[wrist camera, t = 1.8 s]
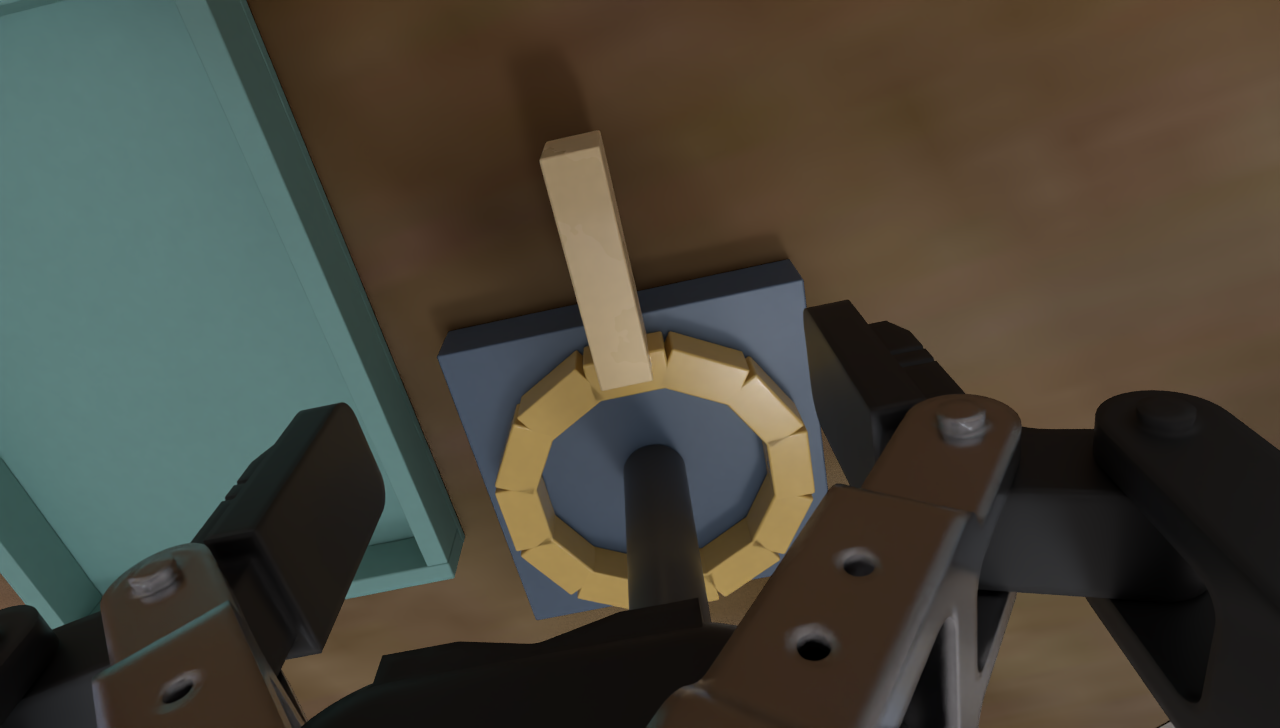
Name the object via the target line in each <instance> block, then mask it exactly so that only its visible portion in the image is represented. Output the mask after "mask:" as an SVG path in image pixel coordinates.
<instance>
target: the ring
mask: <svg viewBox="0 0 1280 728" xmlns="http://www.w3.org/2000/svg"><path fill="white" fill-rule="evenodd" d="M539 162H540V166H541V170H542V173H543V177H544V181H545V184H546V188H547V192H548V196H549V199H550V203H551V207H552V210H553V214H554V218H555V222H556V225H557V229H558V233H559V236H560V240H561V244H562V247H563V251H564V255H565V259H566V262H567V266H568V270H569V273H570V277H571V281H572V285H573V288H574V292H575V296H576V299H577V303H578V307H579V311H580V314H581V318H582V322H583V325H584V329H585V333H586V337H587V340H588V344H589V346H587V347H584V351H583V355H581V354H580V353H579V352H578V351H577V350H576V351H575V352H573V353H572V354H571V355H570V356H569V357H568V358H566V359H565V360H564V361H563V362H562V363H561V364H559V365H558V366H557V367H556V368H555V369H554V370H552V371H551V372H550V373H549V374H548V375H546V376H545V377H544V378H543V379H542V380H541V381H539V382H538V383H537V384H536V385H535V386H534V387H532V388H531V389H530V390H529V391H528V392H527V393H525V394H524V395H523V396H522V397H521V401H520V404H517V405H516V408H515V412H514V415H513V418H512V422H511V425H510V429H509V432H508V436H507V439H506V443H505V446H504V449H503V453H502V456H501V460H500V463H499V468H498V472H497V477H496V482H495V487H496V491H495V495H496V498H497V501H498V503H499V506H500V509H501V511H502V514H503V517H504V519H505V522H506V525H507V527H508V530H509V533H510V536H511V538H512V541H513V544H514V546H515V549H516V551H521V557H522V558H523V559H525V560H526V561H527V562H529V563H530V564H531V565H533V566H534V567H535V568H536V569H538V570H539V571H540V572H542V573H543V574H544V575H546V576H547V577H548V578H550V579H551V580H552V581H553V582H555V583H556V584H557V585H559V586H560V587H561V588H563V589H564V590H565V591H566V592H568V593H569V594H571V595H572V594H574V593H575V592H577V591H578V592H577V598H578V599H583V600H588V601H593V602H597V603H602V604H607V605H612V606H616V607H621V608H626V609H629V598H628V572H627V554H625V553H621V552H616V551H612V550H608V549H603V548H599V547H594V546H593V545H592V544H590V543H589V542H588V541H587V540H585V539H584V538H583V537H582V536H581V535H579V534H578V533H577V532H576V531H574V530H573V529H572V528H571V527H570V526H568V525H567V524H566V523H565V522H563V521H562V520H561V519H560V518H558V517H557V516H556V515H555V513H554V510H553V507H552V504H551V501H550V498H549V495H548V492H547V489H546V486H545V482H544V479H543V476H542V473H543V470H544V467H545V464H546V461H547V458H548V455H549V451H550V448H551V445H552V442H553V440H554V439H555V438H556V437H558V436H559V435H560V434H561V433H563V432H564V431H565V430H566V429H568V428H569V427H570V426H571V425H572V424H574V423H575V422H576V421H577V420H579V419H580V418H581V417H582V416H583V415H585V414H586V413H587V412H588V411H590V410H591V409H592V408H593V407H594V406H596V405H597V404H598V403H599V402H601V401H604V400H609V399H614V398H619V397H624V396H629V395H634V394H639V393H643V392H648V391H653V390H658V389H663V388H666V389H670V390H673V391H677V392H681V393H685V394H688V395H692V396H696V397H700V398H703V399H707V400H711V401H715V402H718V403H722V404H726V405H728V406H729V407H730V408H731V409H732V410H733V411H734V412H735V413H736V414H737V415H738V416H739V417H740V418H741V419H742V420H743V421H744V422H745V423H746V425H747V426H748V427H749V428H750V429H751V430H752V431H753V432H754V433H755V434H756V435H757V436H758V437H759V438H760V439H761V440H762V444H763V450H764V457H765V463H766V469H767V475H766V477H765V479H764V481H763V483H762V485H761V488H760V490H759V492H758V494H757V496H756V498H755V500H754V502H753V504H752V506H751V508H750V510H749V512H748V514H747V517H745V518H744V519H743V520H741V521H740V522H738V523H737V524H735V525H734V526H733V527H731V528H730V529H728V530H727V531H726V532H724V533H723V534H721V535H720V536H718V537H717V538H716V539H714V540H713V541H711V542H710V543H709V544H707V545H706V546H704V547H703V548H699V551H700V557H701V563H702V569H703V575H704V581H705V587H706V593H707V599H708V602H709V601H715V600H719V595H718V591H719V592H720V593H721V594H722V595H723V596H724V597H726V596H728V595H729V594H731V593H732V592H734V591H735V590H737V589H738V588H740V587H741V586H742V585H744V584H745V583H747V582H748V581H750V580H751V579H753V578H754V577H756V576H757V575H759V574H760V573H762V572H763V571H765V570H766V569H768V568H769V567H771V566H772V565H774V564H775V563H777V562H778V561H779V560H780V556H779V553H780V554H785V553H786V551H787V549H788V547H789V545H790V543H791V542H792V540H793V538H794V536H795V534H796V532H797V530H798V528H799V526H800V524H801V522H802V521H803V519H804V517H805V515H806V513H807V511H808V509H809V507H810V505H811V503H812V501H813V497H812V494H813V493H815V485H814V478H813V470H812V462H811V454H810V446H809V438H808V431H807V429H806V427H805V425H804V423H803V420H802V418H801V416H800V414H799V412H798V410H797V408H796V405H795V403H794V402H793V401H792V400H791V399H790V398H789V397H788V396H787V395H786V394H785V393H784V392H783V391H782V390H781V389H780V387H779V386H778V385H777V384H776V383H775V382H774V381H773V380H772V379H771V378H770V377H769V376H768V375H767V374H766V373H765V372H764V370H763V369H762V368H761V367H760V366H759V365H758V364H757V363H756V362H755V361H754V360H753V359H752V358H751V357H750V356H748V357H747V358H745V357H744V354H743V352H742V351H739V350H735V349H731V348H728V347H724V346H721V345H717V344H714V343H710V342H707V341H703V340H700V339H696V338H692V337H689V336H685V335H682V334H678V333H675V332H671V331H669V332H668V334H667V337H666V340H665V342H664V339H663V335H662V332H660V331H658V332H653V333H649V334H646V330H645V325H644V321H643V317H642V312H641V308H640V303H639V299H638V295H637V290H636V286H635V282H634V277H633V273H632V268H631V264H630V260H629V255H628V251H627V246H626V242H625V238H624V233H623V229H622V225H621V220H620V216H619V211H618V207H617V203H616V198H615V194H614V190H613V185H612V181H611V176H610V172H609V168H608V163H607V159H606V154H605V150H604V146H603V141H602V137H601V133H600V131H599V130H596V131H592V132H587V133H583V134H578V135H574V136H570V137H565V138H561V139H556V140H552V141H547V142H546V143H545V146H544V149H543V152H542V154H541V157H540V160H539Z"/></svg>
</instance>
